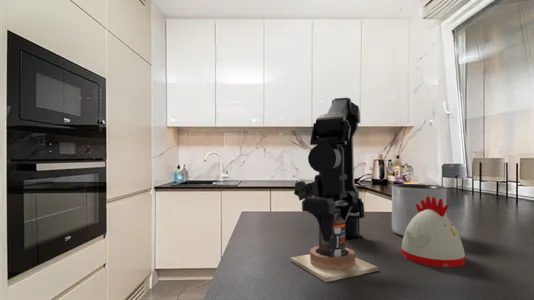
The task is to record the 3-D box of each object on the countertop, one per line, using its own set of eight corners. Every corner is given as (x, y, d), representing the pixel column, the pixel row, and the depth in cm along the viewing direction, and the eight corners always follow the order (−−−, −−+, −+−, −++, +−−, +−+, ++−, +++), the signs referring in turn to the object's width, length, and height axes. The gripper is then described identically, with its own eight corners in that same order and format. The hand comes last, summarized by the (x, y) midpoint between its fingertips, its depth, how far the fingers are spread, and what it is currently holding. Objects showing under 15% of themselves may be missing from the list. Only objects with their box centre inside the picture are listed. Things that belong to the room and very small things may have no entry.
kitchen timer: (441, 271, 67) (440, 202, 67) (389, 253, 79) (388, 195, 79) (477, 261, 73) (476, 198, 74) (424, 246, 85) (423, 192, 86)
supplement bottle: (346, 263, 67) (345, 211, 67) (318, 261, 68) (317, 210, 68) (344, 254, 73) (344, 207, 73) (319, 253, 74) (318, 206, 74)
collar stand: (337, 252, 80) (337, 240, 80) (378, 270, 67) (377, 255, 67) (290, 260, 73) (290, 247, 74) (325, 282, 61) (325, 265, 61)
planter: (456, 242, 89) (455, 188, 90) (398, 239, 92) (397, 188, 93) (436, 229, 105) (435, 184, 106) (387, 227, 108) (386, 183, 108)
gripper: (316, 168, 83) (317, 226, 83) (280, 171, 68) (280, 242, 67) (357, 169, 77) (358, 231, 76) (327, 172, 61) (328, 251, 61)
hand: (332, 238), depth 70 cm, fingers closed on supplement bottle, 6 cm apart
